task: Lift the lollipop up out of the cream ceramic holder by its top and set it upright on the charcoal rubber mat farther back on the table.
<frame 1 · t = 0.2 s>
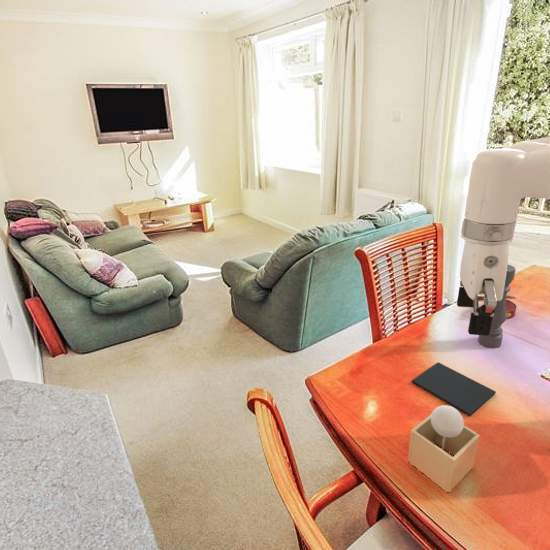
hand: (471, 319, 68), 33 cm above the table, tool pointing down, fingers open, 9 cm apart
canned food: (498, 312, 130), on the table
lollipop: (439, 465, 78), resting in holder
mat: (452, 388, 98), on the table
holder: (440, 464, 78), on the table
candle holder: (489, 342, 115), on the table
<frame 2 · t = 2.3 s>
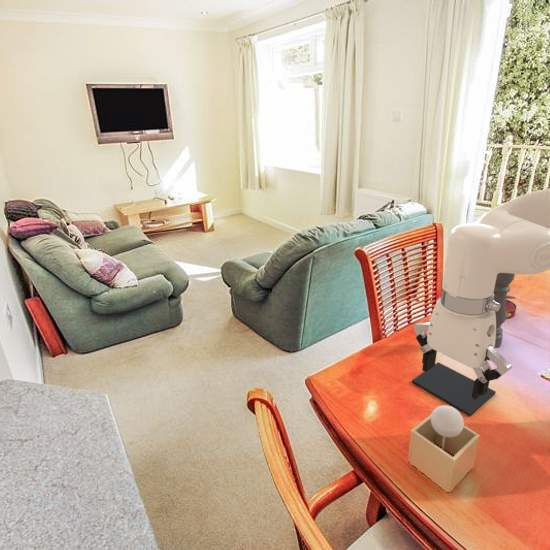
hand: (451, 381, 69), 22 cm above the table, tool pointing down, fingers open, 9 cm apart
nothing on the table moved.
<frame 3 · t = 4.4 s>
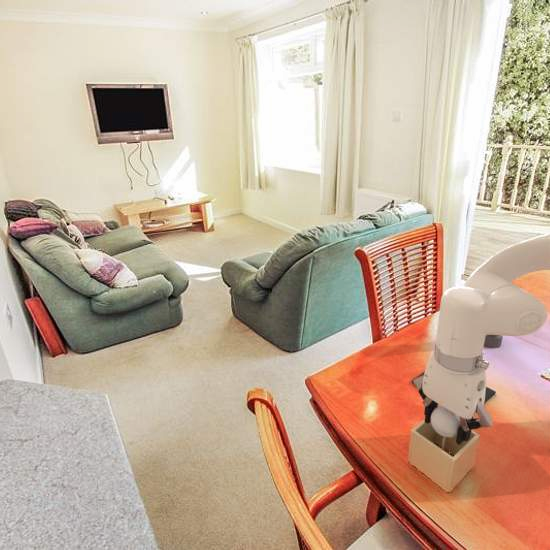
hand: (445, 429, 74), 10 cm above the table, tool pointing down, fingers closed on lollipop, 6 cm apart
lollipop: (439, 465, 78), resting in holder, touching gripper
everything else where it was.
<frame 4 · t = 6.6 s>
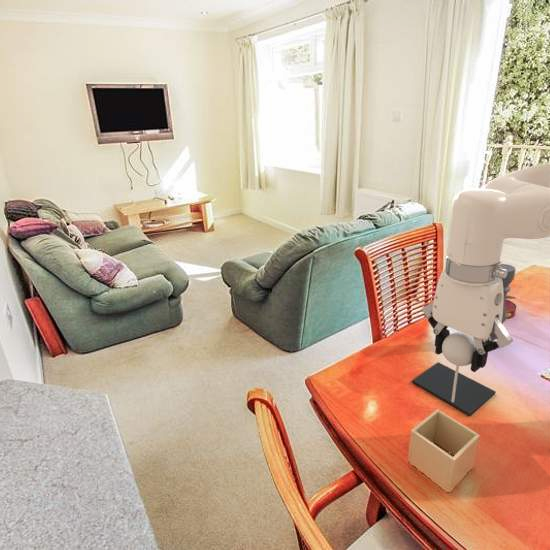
hand: (458, 358, 67), 27 cm above the table, tool pointing down, fingers closed on lollipop, 6 cm apart
lollipop: (452, 402, 72), point 16 cm above the table, touching gripper
everything else where it was.
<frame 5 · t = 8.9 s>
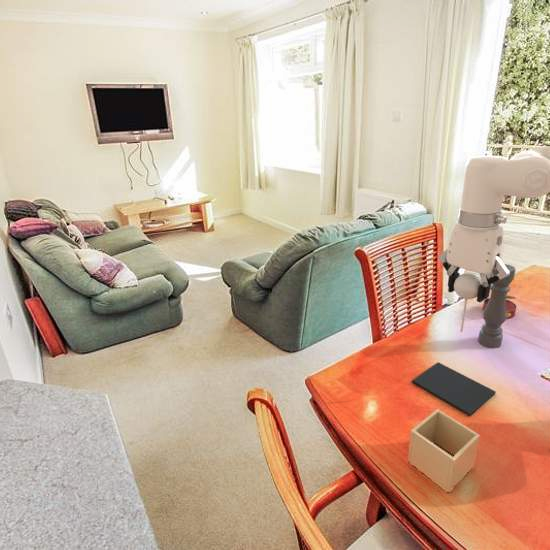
hand: (467, 294, 85), 28 cm above the table, tool pointing down, fingers closed on lollipop, 6 cm apart
lollipop: (461, 332, 89), point 18 cm above the table, touching gripper
everything else where it was.
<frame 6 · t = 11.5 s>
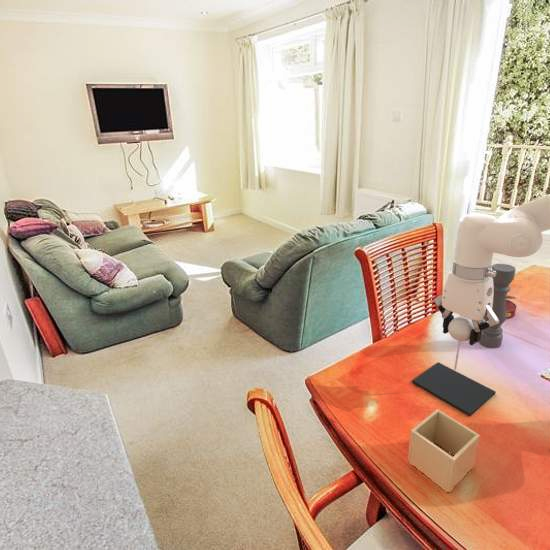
hand: (460, 336, 91), 16 cm above the table, tool pointing down, fingers closed on lollipop, 6 cm apart
lollipop: (455, 369, 96), point 6 cm above the table, touching gripper
everything else where it was.
when the fingers open (11 cm above the table, at t = 13.3 s): lollipop stays where it is, resting on mat.
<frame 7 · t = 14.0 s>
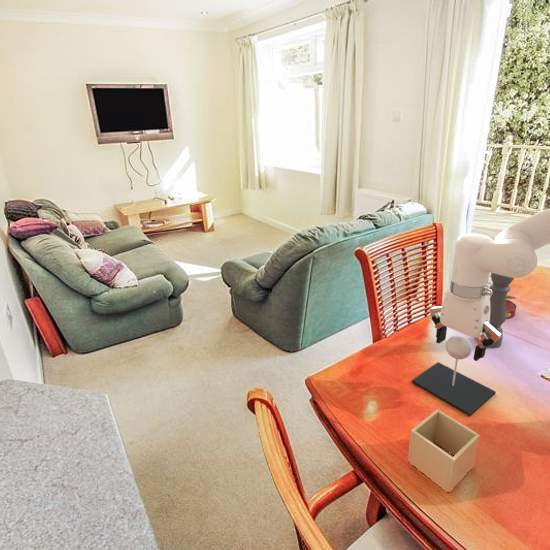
hand: (458, 349, 93), 12 cm above the table, tool pointing down, fingers open, 9 cm apart
lollipop: (452, 386, 98), point 1 cm above the table, touching mat
everything else where it was.
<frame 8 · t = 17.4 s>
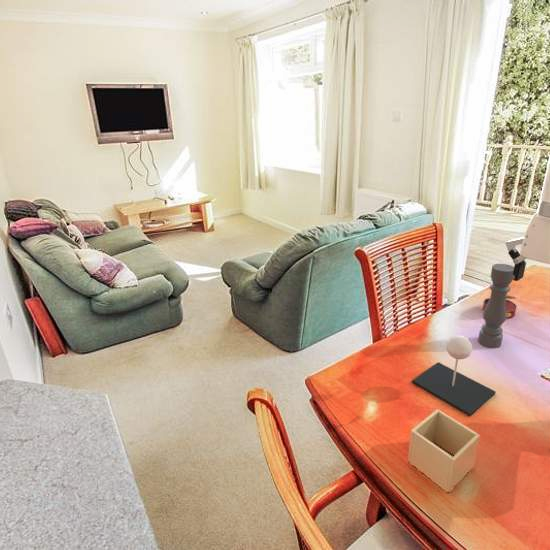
hand: (541, 285, 82), 30 cm above the table, tool pointing down, fingers open, 9 cm apart
nothing on the table moved.
at the end: lollipop inside the target area on the mat (0.1 cm from its centre), point 0.6 cm above the mat's base; lollipop tilted 0° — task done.
